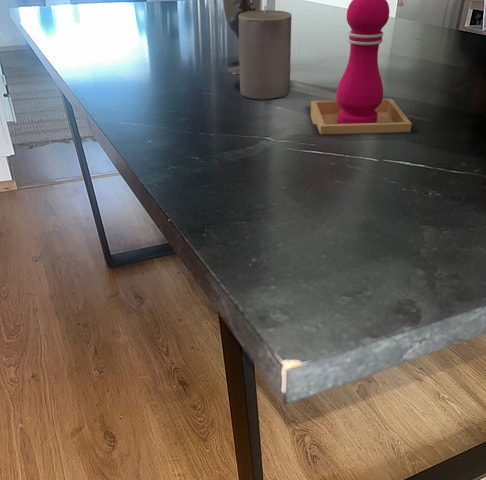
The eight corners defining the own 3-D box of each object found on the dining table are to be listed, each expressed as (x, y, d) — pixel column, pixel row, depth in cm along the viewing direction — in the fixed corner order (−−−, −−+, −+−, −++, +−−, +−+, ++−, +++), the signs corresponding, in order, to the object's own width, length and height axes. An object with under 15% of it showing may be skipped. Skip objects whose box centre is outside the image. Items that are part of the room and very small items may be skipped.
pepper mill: (324, 123, 85) (334, -19, 74) (354, 113, 89) (367, -24, 77) (359, 134, 81) (375, -15, 69) (388, 123, 84) (408, -20, 73)
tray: (389, 113, 90) (391, 98, 89) (409, 140, 80) (412, 123, 78) (310, 116, 90) (311, 100, 89) (319, 143, 80) (320, 126, 78)
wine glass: (266, 67, 118) (267, -9, 109) (252, 76, 112) (251, -4, 104) (235, 64, 121) (232, -10, 112) (219, 72, 115) (215, -5, 106)
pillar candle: (250, 84, 107) (248, 1, 99) (296, 88, 104) (299, 2, 96) (232, 97, 100) (228, 9, 91) (281, 102, 97) (282, 11, 88)
